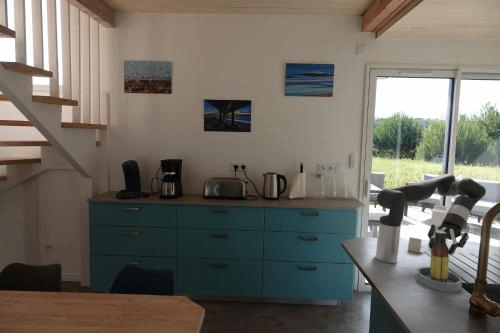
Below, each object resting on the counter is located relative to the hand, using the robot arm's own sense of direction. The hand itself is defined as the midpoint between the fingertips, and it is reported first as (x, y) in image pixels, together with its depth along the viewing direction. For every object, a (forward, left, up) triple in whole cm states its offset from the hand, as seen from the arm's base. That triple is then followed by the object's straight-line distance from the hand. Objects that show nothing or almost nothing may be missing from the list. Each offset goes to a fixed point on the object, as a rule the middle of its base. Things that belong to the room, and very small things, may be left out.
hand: (439, 250), depth 132 cm
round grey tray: (-1, +1, -14) cm, 14 cm away
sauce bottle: (-1, +1, -13) cm, 13 cm away
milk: (-49, +34, -14) cm, 61 cm away
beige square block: (-37, +14, -14) cm, 43 cm away
